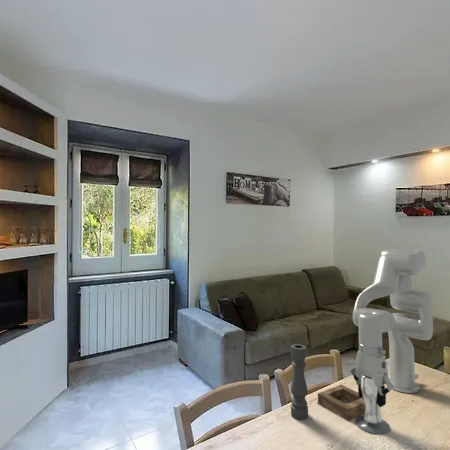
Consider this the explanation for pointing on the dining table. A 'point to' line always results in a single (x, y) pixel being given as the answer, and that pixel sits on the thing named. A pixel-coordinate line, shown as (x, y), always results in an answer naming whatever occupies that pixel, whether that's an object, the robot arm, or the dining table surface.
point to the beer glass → (370, 400)
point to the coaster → (372, 426)
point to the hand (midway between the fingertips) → (371, 400)
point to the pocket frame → (346, 411)
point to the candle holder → (299, 383)
